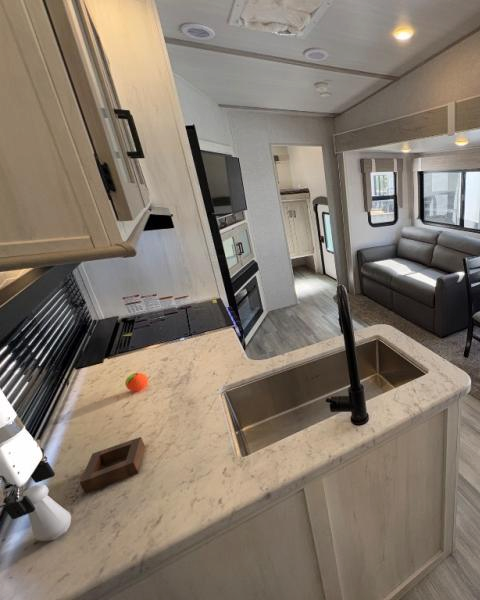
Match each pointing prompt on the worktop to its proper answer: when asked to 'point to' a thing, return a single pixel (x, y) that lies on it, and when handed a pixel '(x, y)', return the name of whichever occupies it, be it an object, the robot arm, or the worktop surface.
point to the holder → (102, 477)
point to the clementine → (136, 382)
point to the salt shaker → (46, 514)
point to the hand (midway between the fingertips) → (35, 495)
